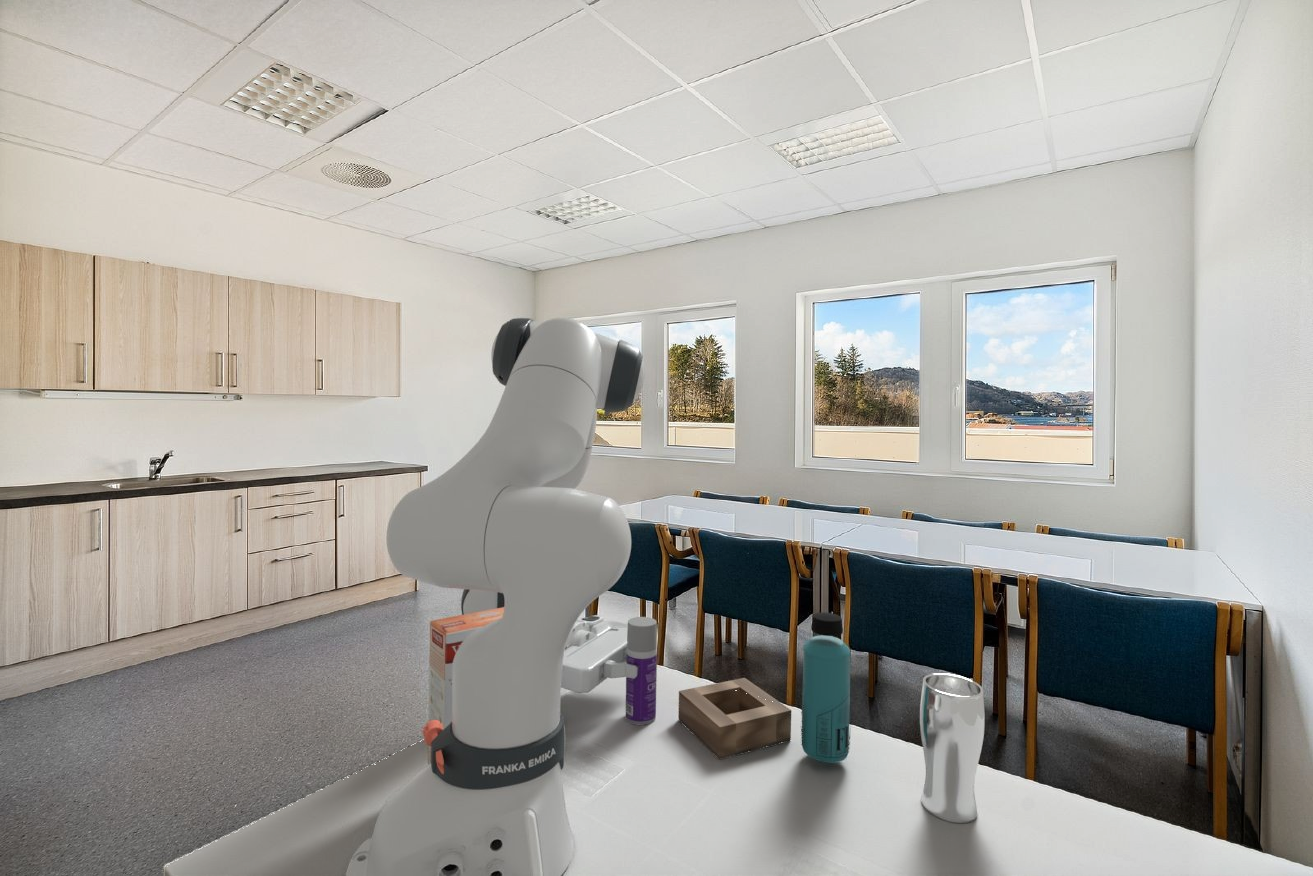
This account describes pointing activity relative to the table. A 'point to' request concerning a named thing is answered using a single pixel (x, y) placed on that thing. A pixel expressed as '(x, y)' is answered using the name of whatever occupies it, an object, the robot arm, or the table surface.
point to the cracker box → (449, 659)
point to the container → (642, 670)
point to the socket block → (734, 717)
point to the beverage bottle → (826, 691)
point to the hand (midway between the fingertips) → (646, 664)
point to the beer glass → (951, 744)
